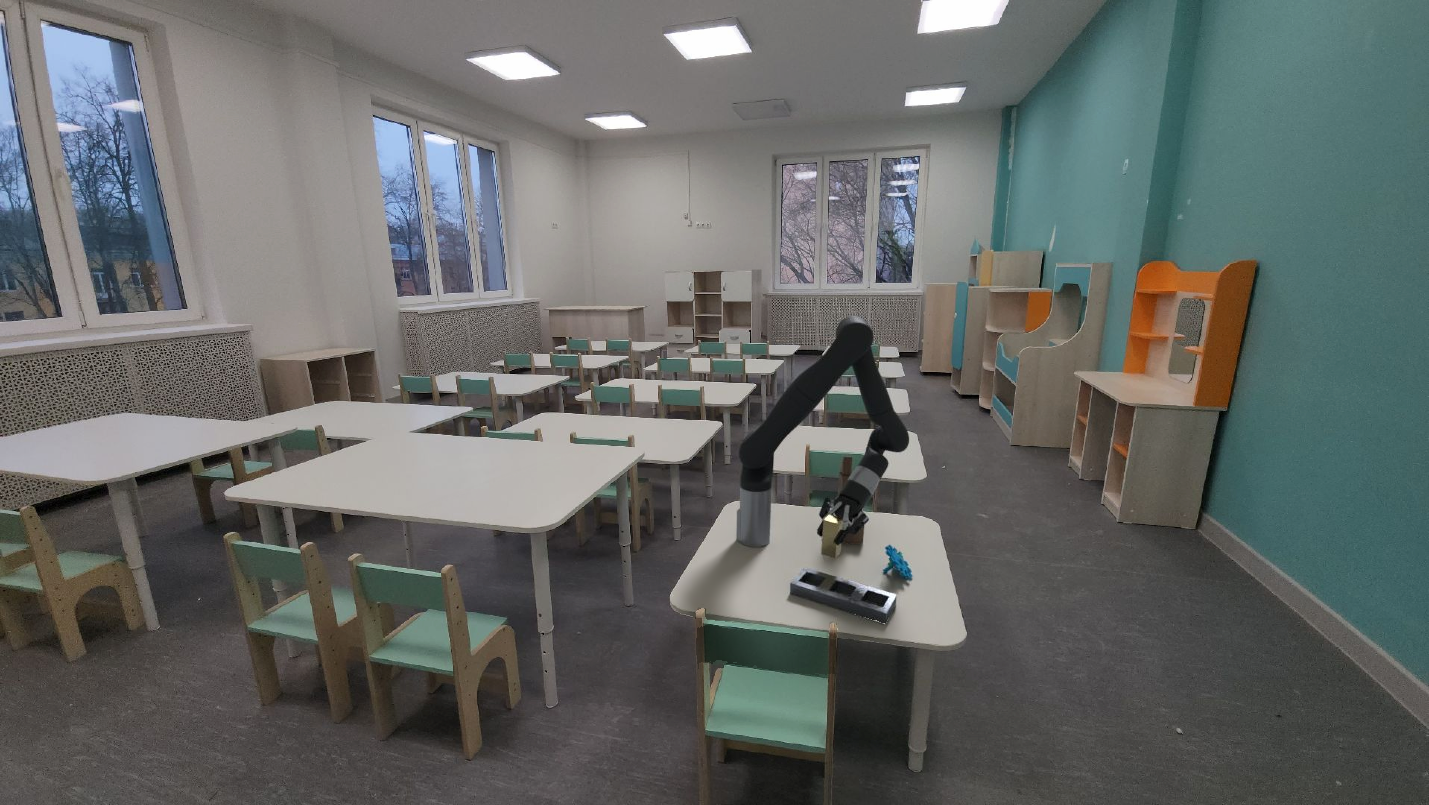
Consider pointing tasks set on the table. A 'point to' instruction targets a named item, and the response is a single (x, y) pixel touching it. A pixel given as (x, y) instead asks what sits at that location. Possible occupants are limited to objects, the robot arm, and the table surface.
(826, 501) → the robot arm
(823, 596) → the grey flat frame block
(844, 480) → the wooden toy
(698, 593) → the table surface
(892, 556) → the gear
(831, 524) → the brass post
